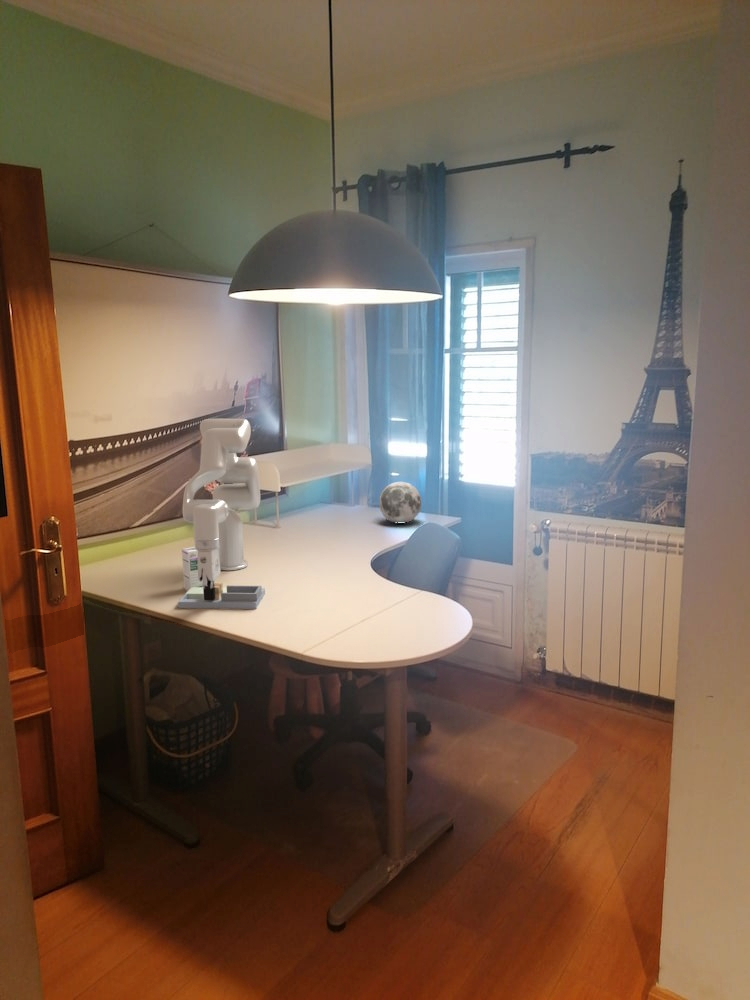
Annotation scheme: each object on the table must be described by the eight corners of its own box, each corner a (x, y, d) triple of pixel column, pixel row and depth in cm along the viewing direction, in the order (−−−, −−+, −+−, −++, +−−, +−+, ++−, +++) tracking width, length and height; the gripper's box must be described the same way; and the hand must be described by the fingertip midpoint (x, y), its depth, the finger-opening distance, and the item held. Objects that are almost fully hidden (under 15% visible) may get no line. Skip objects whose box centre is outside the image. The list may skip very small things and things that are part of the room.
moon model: (377, 518, 359) (377, 478, 355) (418, 518, 360) (418, 478, 356) (380, 528, 339) (380, 485, 335) (423, 527, 340) (424, 485, 336)
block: (207, 594, 241) (207, 582, 240) (222, 594, 241) (222, 582, 240) (203, 599, 236) (203, 587, 235) (219, 599, 236) (218, 587, 235)
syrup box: (190, 593, 248) (188, 551, 246) (183, 588, 253) (181, 547, 250) (206, 589, 252) (204, 548, 249) (199, 585, 256) (197, 545, 254)
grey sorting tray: (191, 592, 248) (191, 580, 248) (264, 593, 247) (264, 580, 247) (178, 607, 234) (177, 594, 233) (256, 608, 233) (255, 595, 232)
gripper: (212, 550, 222) (215, 607, 226) (224, 538, 237) (227, 592, 241) (188, 549, 223) (191, 607, 226) (201, 537, 237) (204, 592, 241)
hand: (209, 599), depth 233 cm, fingers closed
